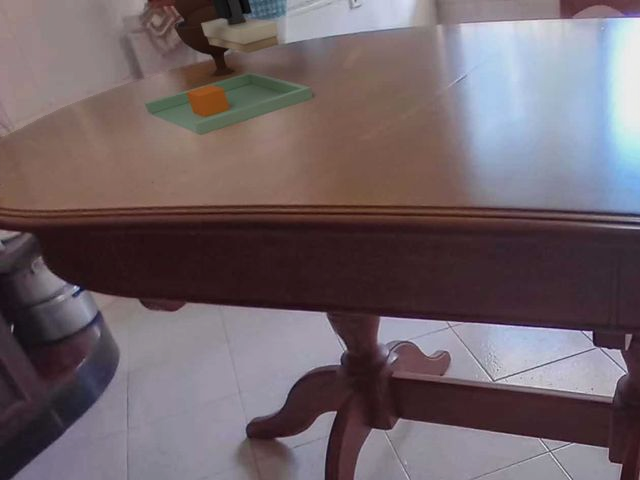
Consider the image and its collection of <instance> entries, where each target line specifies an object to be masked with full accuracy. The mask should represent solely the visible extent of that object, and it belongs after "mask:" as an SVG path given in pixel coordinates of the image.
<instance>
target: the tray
mask: <svg viewBox="0 0 640 480" xmlns="http://www.w3.org/2000/svg"><path fill="white" fill-rule="evenodd" d="M209 85H213V86H216V87H219V88H223V89H224V91H225V95H226V98H227V101H228V104H229V108H230V110H226V111H223V112H220V113H217V114H214V115H211V116H207V117H203V116H201V115H198V114H195V113H193V110H192V107H191V105H190V102H189V99H188V96H187V93H186V92H189V91H192V90H196V89H199V88H203V87H206V86H209ZM312 99H314V95H313V92H312V87H310V86H307V85H302V84H298V83H295V82H290V81H288V80H283V79H279V78H276V77H273V76H268V75H265V74H261V73H257V72H253V71H250V72H247V73H243V74H240V75H236V76H233V77H229V78H226V79H222V80H218V81H215V82H212V83H208V84H206V85H202V86H198V87H194V88H190V89H188V90H185V91H180V92H177V93H173V94H171V95H167V96H164V97H160V98H157V99H154V100H150V101H146V102H144V105H145V107H146V111H147V113H148V114H149V115H151V116H154V117H156V118H159V119H161V120H164V121H166V122H168V123H171V124H173V125H176V126H177V127H181V128H183V129H186V130H188V131H190V132H192V133H195V134H197V135H200V136H202V135H206V134H208V133H213V132H214V131H219V130H222V129H224V128H227V127H230V126H233V125H236V124H240V123H243V122H244V121H249V120H251V119H254V118H258V117H261V116H263V115H266V114H269V113H272V112H276V111H279V110H282V109H285V108H289V107H291V106H294V105H296V104H300V103H303V102H306V101H309V100H312Z"/></svg>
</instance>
